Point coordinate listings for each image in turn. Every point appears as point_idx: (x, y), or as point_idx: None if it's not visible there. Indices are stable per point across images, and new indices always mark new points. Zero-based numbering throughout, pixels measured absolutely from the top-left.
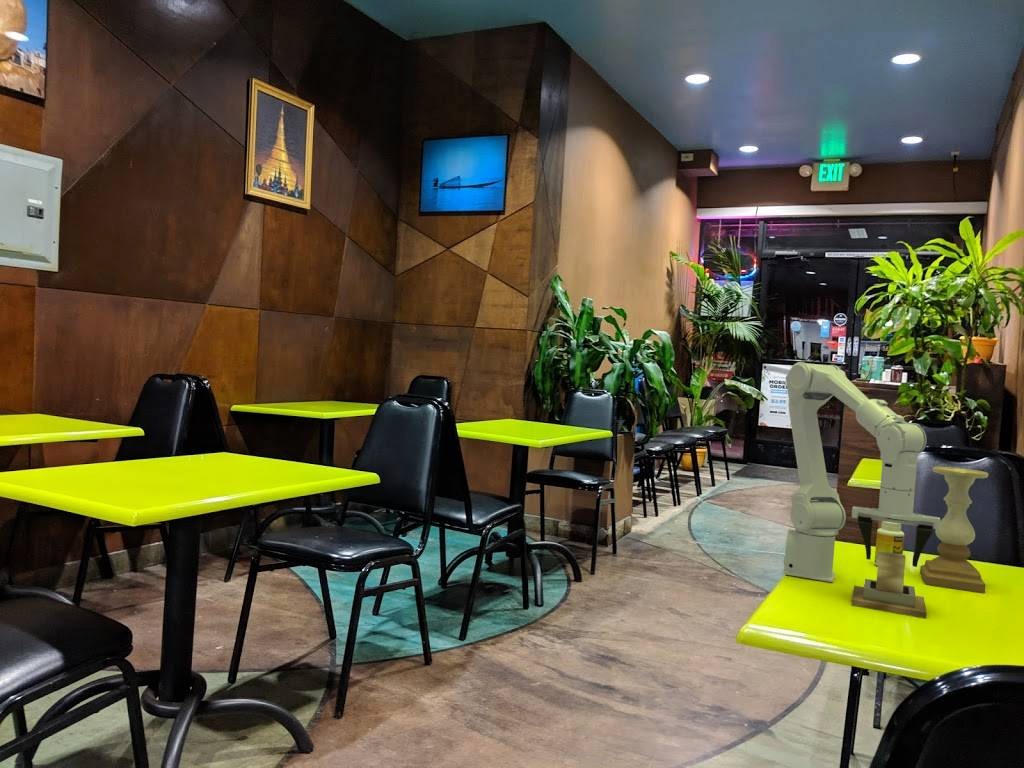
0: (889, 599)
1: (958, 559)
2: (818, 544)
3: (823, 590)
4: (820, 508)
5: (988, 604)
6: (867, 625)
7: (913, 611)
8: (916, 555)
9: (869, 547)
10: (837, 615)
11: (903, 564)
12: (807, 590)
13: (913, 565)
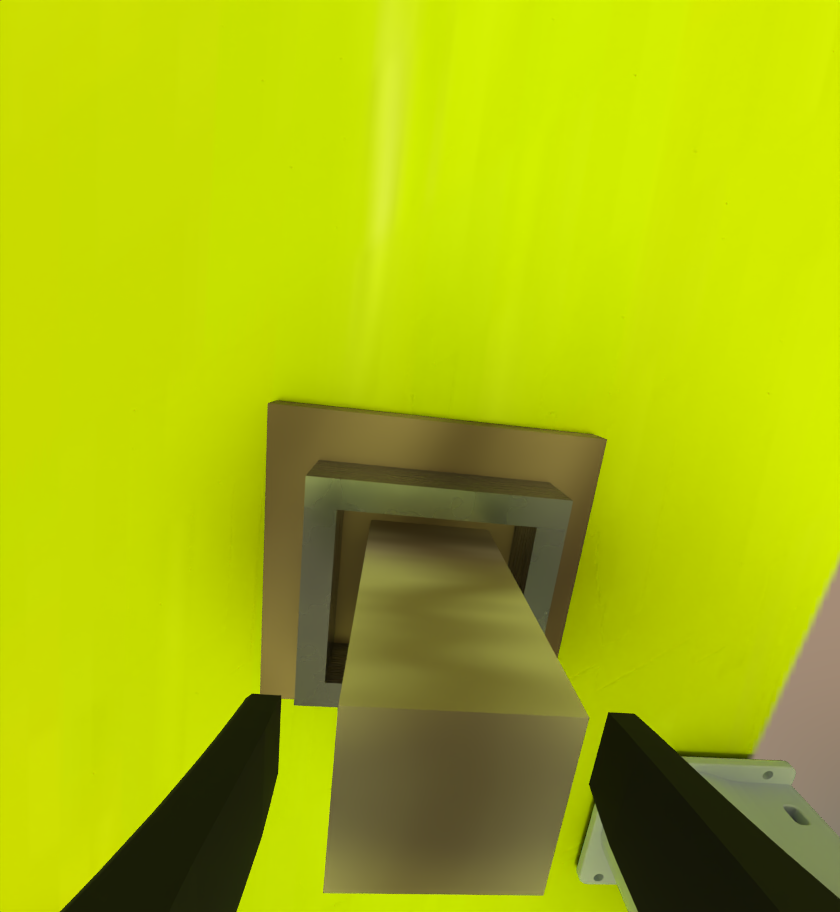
0: (437, 475)
1: None
2: None
3: (668, 619)
4: None
5: (9, 803)
6: (584, 64)
7: (330, 409)
8: (209, 789)
9: (709, 817)
10: (700, 189)
11: (360, 661)
12: (740, 578)
13: (272, 699)
